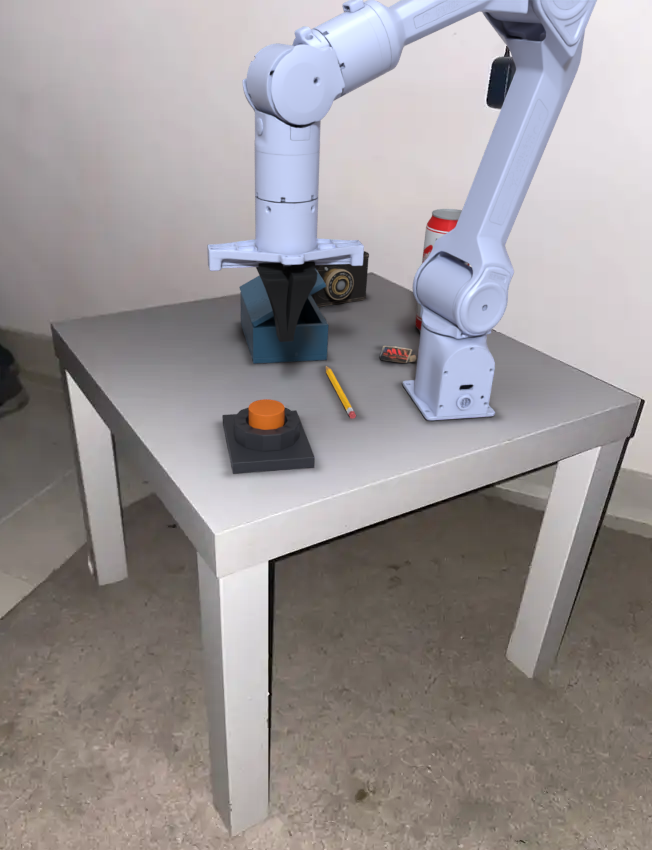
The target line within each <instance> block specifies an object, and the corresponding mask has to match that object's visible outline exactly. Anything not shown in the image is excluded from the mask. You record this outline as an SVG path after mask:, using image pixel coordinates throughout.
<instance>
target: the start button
mask: <svg viewBox="0 0 652 850" xmlns="http://www.w3.org/2000/svg"><path fill="white" fill-rule="evenodd" d="M248 407H249V425H250V426H251V427H253V428H258V429H263V430H269V429H277V428H279V427H282V426H283V425H284V421H285V408H286V407H285V405H284V404H283V403H282V402H280V401H279V400H275V399H270V398H269V399H268V398H266V399H265V398H264V399H258V400H255V401H252V402H250V403H249V405H248Z"/></svg>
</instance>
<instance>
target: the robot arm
mask: <svg viewBox="0 0 652 850" xmlns="http://www.w3.org/2000/svg"><path fill="white" fill-rule="evenodd" d="M597 2H598V0H399V1H396V2H395V3H394V4H393V3H392V5H390V6H387V5H385V4H383V3H381V2H380V1H378V0H365V1H364V0H346V1H345V2H343V3H342V4H341V6H342V10H343V12H342V13H339V14H338V15H336V16H334V17H332V18H330V19H328V20H326V21H325V22H322V23H321V24H319V25H317V26H315V27H313V28H311V27H309V26H306V25H304V26H301V27H299V28H297V29H295V31H294V39H293V41H292V44H286V43H271V44H268V45H265V46H264V47H262V48H260V49H259V51H257V53H255V54H254V59H253V60H251V61H250V63H249V66H248V69H247V72H246V78H244V79H242V90H243V94H244V97H245V100H246V101H247V103H248V104H249V106H250V107H251V108H252V110H253V112H254V206H255V207H254V223H255V225H254V226H255V227H254V233H255V237H254V239H247V240H240V241H239V240H238V241H231V242H224V243H211V244H207V245H206V249H207V251H206V253H207V266H208V270H209V271H210V272H219V271H222V269H242V268H245V269H246V268H255V269H256V271H257V273H258V276H259V275H260V278H261V280H262V282H263V284H264V287H265V289H266V292H267V295H268V298H269V300H270V304H271V307H272V310H273V315H274V319H275V324H276V334H277V337H278V339H279V341H280V342H287V341H294V334H295V330H296V326H297V322H298V319H299V316H300V313H301V311H302V308H303V306H304V304H305V302H306V299H307V298H308V296H309V294H310V292H311V290H312V289H313V287H314V286H315V284H316V281H317V271H316V270H315V265H332V264H351V265H352V266H362V265H363V254H364V251H365V245H364V244H363V243H362V242H361V241H360V240H359V239H334V238H332V239H331V238H319V237H318V222H319V219H318V218H319V191H320V189H319V187H320V186H319V185H320V161H321V159H320V156H321V126H322V125H321V123H322V120H323V119H324V118H325V117H326V115H327V114H328V113H329V111H330V110H331V108H332V105H333V103H334V102H335V101H337V100H338V99H340V98H342V97H344V96H346V95H348V94H349V93H351V92H354V91H355V90H357V89H359V88H360V87H362V86H365V85H366V84H368V83H371V82H373V81H374V80H376V79H378V78H380V77H381V76H384V75H385V74H387V73H388V72H391V71H393V70H394V69H396V67H397V66H398V65H399V62H400V59H401V56H402V53H403V50H404V48H405V47H406V46H408V45H410V44H412V43H415V42H417V41H419V40H421V39H424V38H425V37H427V36H430V35H432V34H434V33H436V32H438V31H440V30H443V29H445V28H447V27H449V26H451V25H453V24H456V23H458V22H460V21H463V20H464V19H466V18H468V17H470V16H473V15H475V14H477V13H482V15H483V17H484V18H485V19H486V20H487V22H488V23H489V24H490V26H492V28H493V30H494V31H495V32H496V33H497V35H498V37H500V39H501V40H502V42H503V43H504V44H505V45H506V47H507V49H508V50H509V52H510V53H509V54H510V55H511V58H512V61H513V63H514V66H515V71H514V74H513V76H512V77H513V78H512V80H511V83H510V84H509V88H508V90H507V92H506V95H505V98H504V101H503V103H502V105H501V108H500V111H499V113H498V115H497V118H496V121H495V124H494V126H493V129H492V132H491V134H490V136H489V139H488V142H487V144H486V147H485V150H484V152H483V155H482V157H481V161H480V163H479V165H478V168H477V170H476V173H475V175H474V178H473V181H472V184H471V186H470V189H469V191H468V193H467V196H466V199H465V201H464V204H463V206H462V208H461V210H462V212H461V214H460V217H459V219H458V222H457V225H456V227H455V228H454V229H453V230H451V231H450V232H448V233H446V234H445V235H443V236H442V237H440V238H439V239H437V240H436V241H435V244H434V246H433V249H432V251H431V253H430V255H429V256H428V258H427V259H426V260H425V261H424V262H423V263H422V262H421V264H420V266H418V268H417V269H416V272H415V275H414V277H413V281H412V295H413V297H414V299H415V301H416V303H418V304H420V305H421V313H420V316H421V317H422V324H421V332H419V333H420V334H419V342H418V352H417V358H416V369H415V377H414V379H409V380H407V379H405V380H403V381H402V386H403V387H404V389H405V390H406V392H407V393H408V395H409V397H410V398H411V399H412V401H413V402H414V404H415V405H416V407H417V408H418V410H419V411H420V413H421V414H422V415H423V417H424V418H425V420H427V421H443V420H444V421H446V420H461V419H474V418H487V417H488V418H490V417H494V416H495V414H496V411H495V410H494V409H493V408H492V407H491V405H490V400H491V399H490V398H491V394H492V389H493V388H492V386H493V382H494V376H495V369H496V363H495V358H494V356H493V354H492V353H491V351H490V349H489V346H488V339H487V337H488V335H490V334H492V330H493V329H494V328H495V327H496V326H497V325H498V324H499V322H501V320H502V318H503V317H504V315H505V313H506V310H507V306H508V302H509V289H510V284H511V282H512V279H513V276H514V274H515V269H514V267H513V263H512V261H511V259H510V257H509V253H508V251H507V248H506V247H507V246H506V244H507V242H508V239H509V237H510V235H511V232H512V230H513V227H514V225H515V222H516V220H517V217H518V215H519V213H520V210H521V208H522V206H523V203H524V201H525V198H526V197H527V193H528V191H529V189H530V186H531V184H532V182H533V180H534V177H535V174H536V172H537V170H538V168H539V167H538V166H539V165H540V162H541V160H542V157H543V155H544V153H545V150H546V148H547V145H548V143H549V140H550V138H551V135H552V133H553V131H554V128H555V126H556V123H557V121H558V118H559V117H560V114H561V112H562V110H563V106H564V104H565V102H566V99H567V97H568V95H569V92H570V90H571V88H572V85H573V83H574V80H575V78H576V75H577V73H578V70H579V67H580V65H581V60H582V54H583V47H584V39H585V34H586V28H587V26H588V24H589V21H590V18H591V16H592V14H593V11H594V9H595V7H596V4H597ZM466 262H467V263H469V264H470V266H468V265H466V264H465V263H466Z"/></svg>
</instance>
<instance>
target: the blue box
mask: <svg viewBox="0 0 652 850" xmlns="http://www.w3.org/2000/svg"><path fill="white" fill-rule="evenodd" d="M239 295H240V301H239V302H240V326H241V329H242V332H243V335H244V339H245V341H246V345H247V347H248V348H247V349H248V351H249V354H250V356H251V361H252V363H253V364H272V363H291V362H313V361H327V360H328V345H329V323H328V322H327V319H326V318H325V316H324V315H323V313H322V311H321V310H320V308H319V307H318V306H317V304H316V303H315V301H314V299H313V297H312V296H311V295H310V296H308V298H307V299H306V302H305V304H304V306H303V308H302V311H301V313H300V316H299V319H298V322H297V326H296V330H295V334H294V341H287V342H280V341H279V339H278V337H277V334H276V324H275V319H274V316H273V317H271V318H270V319H268V320H266V321H264V322H263V323H261V324H259V325H257V326H256V327H254V326H253V324H252V322H251V319H250V316H249V313H248V311H247V308H246V305H245V302H244V299H243V296H242V294H241V291H240V294H239Z"/></svg>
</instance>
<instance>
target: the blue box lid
mask: <svg viewBox="0 0 652 850" xmlns="http://www.w3.org/2000/svg"><path fill="white" fill-rule="evenodd" d="M315 270H316V268H315ZM316 271H317V270H316ZM324 287H326V284H325V282H324V281H323V279H322V277H321V276H320V274H319V273H318V271H317V281H316V284H315V286H314V287H313V289H312V290H311V292H310V294H309V296H310V295H312V294H314V293H315V292H317V291H319V290H321V289H323V288H324ZM239 291H240V292H241V294H242V296H243V299H244V302H245V305H246V308H247V311H248V313H249V316H250V319H251V322H252V324H253V326H254V327H256V326H257V325H259V324H261V323H263V322H264V321H266V320H268V319H270V318H271V317H273V316H274V315H273V310H272V307H271V304H270V300H269V298H268V295H267V292H266V289H265V287H264V284H263V282H262V280H261V278H260V275H259V274H258V275H257V276H256V277H253V278H252V279H251V280H249V281H247V282H245V283H243V284H242V285H240V286H239Z"/></svg>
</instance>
